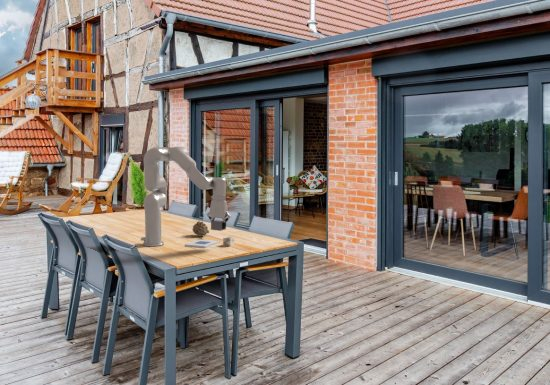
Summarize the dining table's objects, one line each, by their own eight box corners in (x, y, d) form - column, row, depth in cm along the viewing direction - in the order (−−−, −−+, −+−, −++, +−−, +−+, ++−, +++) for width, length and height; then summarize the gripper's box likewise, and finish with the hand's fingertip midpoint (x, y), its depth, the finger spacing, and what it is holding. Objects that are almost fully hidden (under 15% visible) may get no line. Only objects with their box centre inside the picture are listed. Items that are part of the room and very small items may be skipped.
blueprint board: (185, 246, 294) (185, 244, 294) (200, 241, 311) (200, 239, 311) (205, 247, 289) (205, 246, 289) (219, 242, 306) (219, 240, 306)
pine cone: (188, 235, 332) (188, 220, 331) (201, 233, 338) (201, 219, 337) (204, 240, 314) (204, 224, 314) (217, 238, 320) (217, 223, 319)
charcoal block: (210, 229, 286) (211, 221, 286) (216, 228, 292) (216, 220, 292) (220, 230, 284) (220, 222, 284) (225, 229, 290) (226, 220, 289)
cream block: (223, 245, 296) (223, 237, 296) (226, 244, 301) (226, 236, 301) (230, 246, 295) (230, 238, 294) (234, 245, 299) (234, 237, 299)
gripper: (203, 197, 286) (202, 227, 288) (229, 200, 280) (228, 230, 282) (209, 196, 293) (208, 226, 295) (235, 198, 287) (234, 228, 289)
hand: (218, 228), depth 288 cm, fingers closed on charcoal block, 6 cm apart
